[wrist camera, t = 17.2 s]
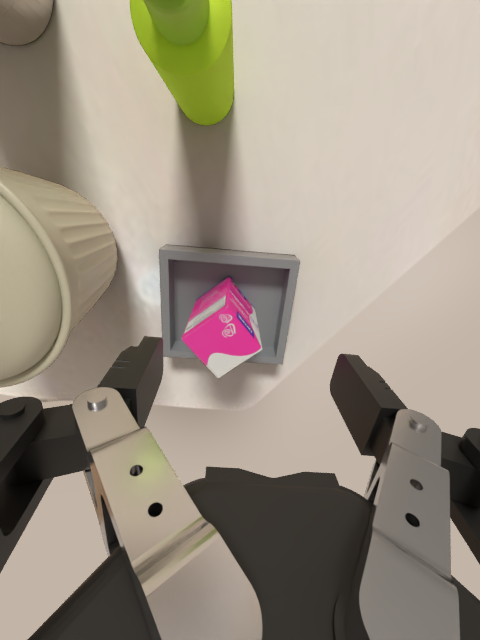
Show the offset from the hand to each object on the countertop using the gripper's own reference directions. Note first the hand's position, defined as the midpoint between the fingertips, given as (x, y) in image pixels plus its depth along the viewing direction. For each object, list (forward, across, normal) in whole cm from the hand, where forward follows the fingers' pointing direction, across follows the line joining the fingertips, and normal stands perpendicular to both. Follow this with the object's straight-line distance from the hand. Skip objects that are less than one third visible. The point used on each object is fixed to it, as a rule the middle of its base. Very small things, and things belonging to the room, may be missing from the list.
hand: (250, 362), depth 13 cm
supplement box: (+24, +1, +6) cm, 25 cm away
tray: (+24, +1, +6) cm, 25 cm away
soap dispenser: (+25, +6, -16) cm, 30 cm away
